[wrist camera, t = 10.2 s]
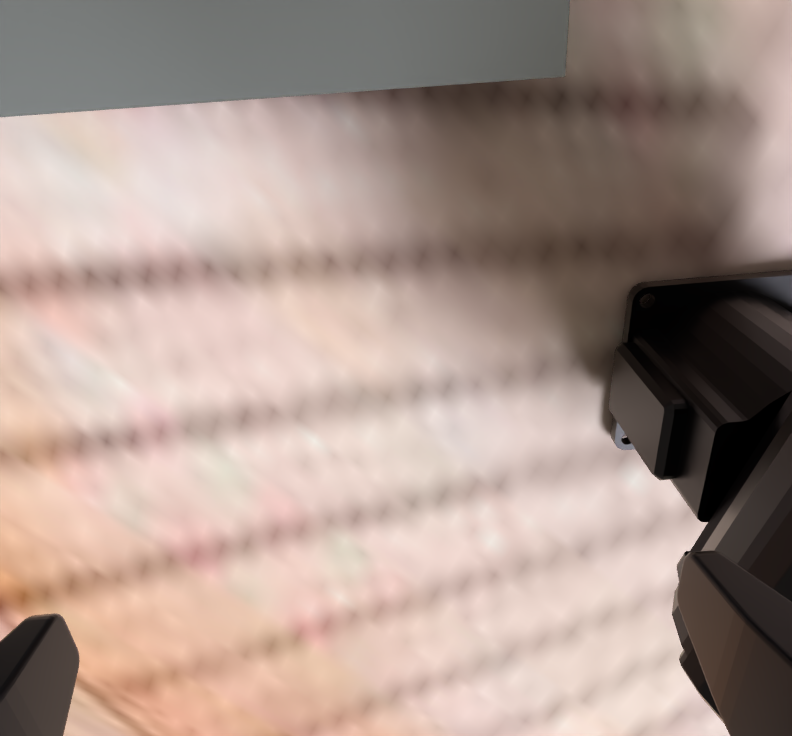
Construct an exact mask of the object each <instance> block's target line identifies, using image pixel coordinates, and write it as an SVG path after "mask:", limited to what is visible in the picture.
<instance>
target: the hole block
mask: <svg viewBox="0 0 792 736" xmlns="http://www.w3.org/2000/svg"><path fill="white" fill-rule="evenodd" d="M569 5H570V0H0V117H10V116H24V115H38V114H52V113H66V112H80V111H94V110H108V109H122V108H136V107H150V106H164V105H178V104H192V103H206V102H220V101H234V100H248V99H262V98H276V97H290V96H304V95H318V94H332V93H346V92H360V91H374V90H388V89H402V88H416V87H430V86H444V85H458V84H472V83H486V82H500V81H514V80H528V79H542V78H556V77H565V70H566V54H567V38H568V21H569Z"/></svg>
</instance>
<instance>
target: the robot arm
mask: <svg viewBox="0 0 792 736" xmlns="http://www.w3.org/2000/svg"><path fill="white" fill-rule="evenodd" d="M646 294H650V297H649V300H647V301H646V302H645V303H642V304H641V303H640V299H641V298H642V297H643V296H644V295H646ZM609 410H610V412H611V413H612V415H613V421H612V429H611V438H612V440H613V441H614V443H615V444H616V446H617V447H618V448H620V449H622V450H631V449H636V451H637V452H638V453H639V455H640V456H641V458H642V459H643V461H644V462H645V464H646V465H647V467H648V468H649V470H650V471H651V473H652V474H653V475H654V476H655V477H657V478H658V479H659V480H669V479H670V480H671V481H672V483H673V484H674V486H675V487H676V489H677V490H678V491H679V493H680V494H681V496H682V497H683V499H684V500H685V501H686V503H687V504H688V506H689V507H690V509H691V510H692V511H693V513H694V514H695V516H696V517H697V519H698V520H700V521H701V522H708V524H707V525H706V527H705V529H704V530H703V532H702V533H701V535H700V536H699V538H698V540H697V541H696V543H695V544H694V546H693V547H692V549H691V551H686V552H685V553H684V555H683V556H682V558H681V559H680V561H679V563H678V564H677V571H678V577H679V584H678V587H677V589H676V590H675V594H674V602H673V611H672V616H673V619H674V622H675V625H676V629H677V632H678V635H679V638H680V642H681V645H682V647H683V649H684V650H683V652H682V653H681V655H680V658H679V660H680V663H681V666H682V668H683V669H684V671H685V673H686V674H687V676H688V677H689V679H690V680H691V682H692V683H693V685H694V687H695V688H696V690H697V691H698V693H699V694H700V696H701V697H702V698H703V700H704V701H705V702H706V703H707V704H708V705H709V706H710V708H711V709H712V710H713V711H714V712H715V713H716V715H717V716H718V717H719V718H720V719H721V720H722V721H723V723H724V724H725V726H726V728H727V730H728V732H729V734H730V736H792V270H789V271H777V272H764V273H752V274H740V275H728V276H715V277H703V278H691V279H679V280H667V281H654V282H644V283H640V284H637V285H636V286H634V287H633V288H632V290H631V291H630V292H629V295H628V299H627V307H626V315H625V323H624V331H623V339H622V343H621V344H620V345H619V346H618V347H617V348H616V350H615V356H614V365H613V373H612V382H611V390H610V399H609ZM625 434H626V436H627V437H626V438H622V437H623V436H624V435H625ZM78 668H79V653H78V649H77V647H76V644H75V642H74V640H73V638H72V636H71V633H70V631H69V629H68V627H67V624H66V622H65V620H64V618H63V617H62V616H61V615H59V614H44V615H35V616H31V617H28V618H27V619H25V620H24V621H22V622H21V623H20V624H19V625H18V626H17V627H16V628H15V629H14V630H12V631H11V632H10V633H9V634H8V635H7V636H6V637H5V638H4V639H2V640H1V641H0V736H63V734H64V730H65V725H66V721H67V717H68V712H69V708H70V704H71V699H72V695H73V690H74V686H75V682H76V677H77V673H78Z"/></svg>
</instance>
